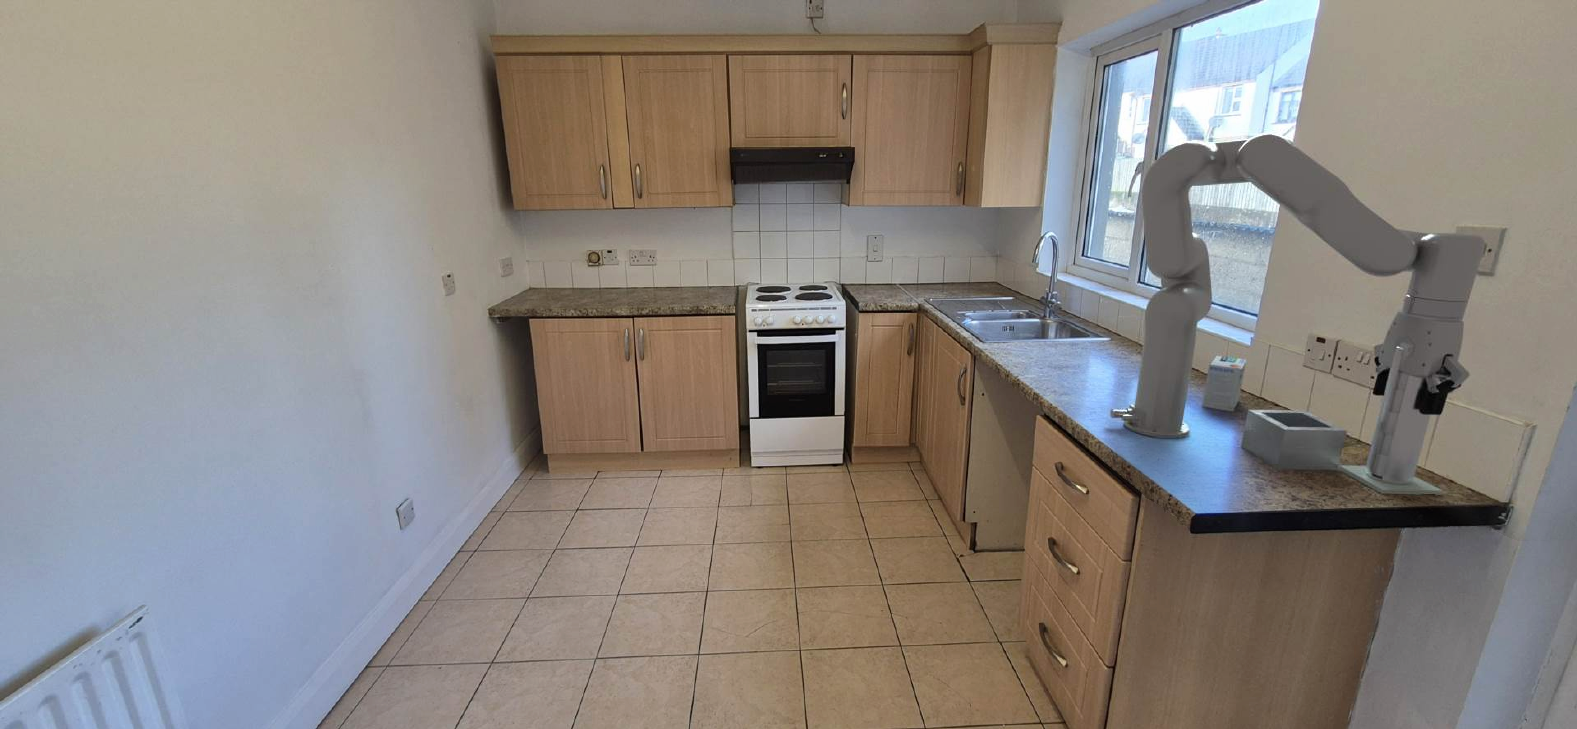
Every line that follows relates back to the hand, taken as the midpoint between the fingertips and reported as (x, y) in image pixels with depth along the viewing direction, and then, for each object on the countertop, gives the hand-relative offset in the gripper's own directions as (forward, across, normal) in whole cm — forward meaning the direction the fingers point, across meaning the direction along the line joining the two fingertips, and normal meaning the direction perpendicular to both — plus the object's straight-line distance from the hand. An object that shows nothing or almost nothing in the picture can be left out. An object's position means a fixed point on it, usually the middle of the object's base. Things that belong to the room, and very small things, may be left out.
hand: (1405, 404), depth 114 cm
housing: (+15, -10, -10) cm, 21 cm away
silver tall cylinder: (+14, 0, 0) cm, 14 cm away
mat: (+15, 0, 0) cm, 15 cm away
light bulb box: (+16, -42, -4) cm, 45 cm away
